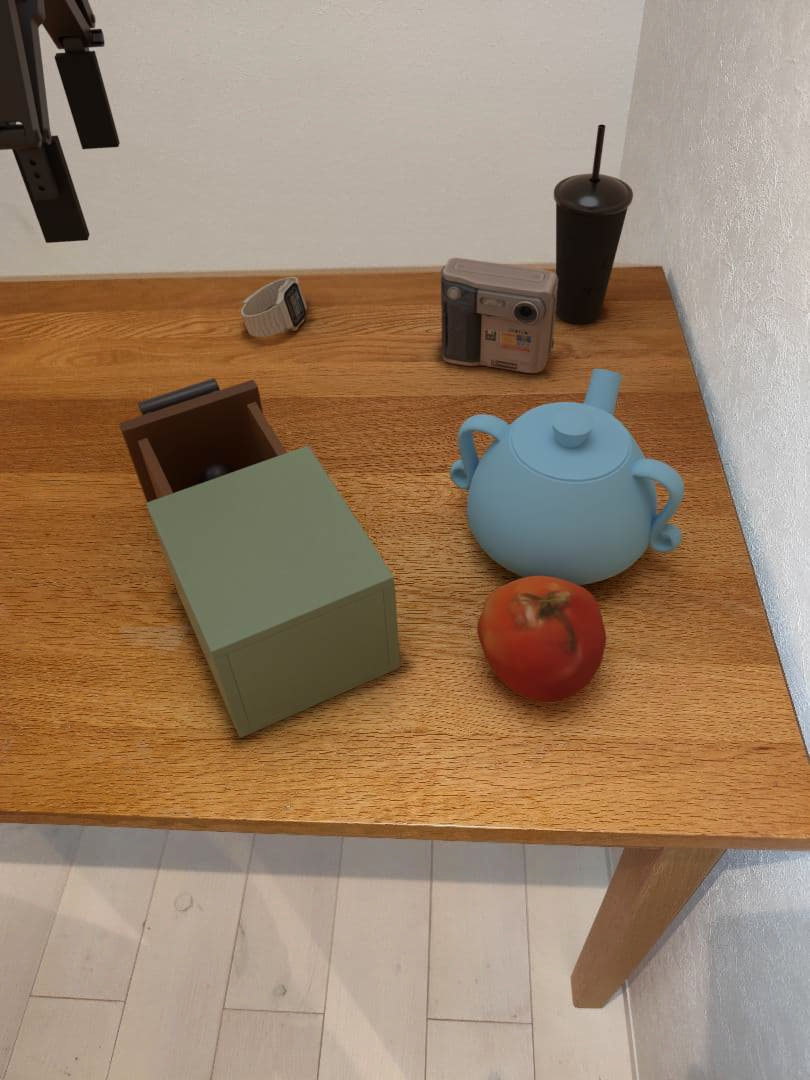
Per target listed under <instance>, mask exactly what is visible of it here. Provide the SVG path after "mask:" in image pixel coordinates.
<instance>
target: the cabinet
mask: <svg viewBox="0 0 810 1080" xmlns="http://www.w3.org/2000/svg"><path fill="white" fill-rule="evenodd" d="M145 505H146V508H147V511H148V514H149V516H150V519H151V522H152V525H153V527H154V530H155V533H156V536H157V539H158V543H159V545H160V548H161V550H162V553H163V555H164V558H165V561H166V564H167V567H168V570H169V572H170V576H171V578H172V580H173V583H174V586H175V588H176V592H177V595H178V597H179V600H180V602H181V604H182V606H183V609H184V611H185V613H186V616H187V618H188V620H189V623H190V625H191V627H192V629H193V632H194V634H195V636H196V639H197V641H198V644H199V646H200V648H201V650H202V653H203V655H204V657H205V660H206V663H207V665H208V666H209V670H210V671H211V674H212V676H213V679H214V682H215V683H216V686H217V688H218V690H219V693H220V696H221V697H222V700H223V702H224V704H225V707H226V709H227V711H228V714H229V716H230V719H231V720H232V723H233V725H234V727H235V730H236V732H237V734H238V737H239V738H241V739H242V738H244V737H246V736H249V735H251V734H253V733H255V732H258V731H260V730H262V729H265V728H266V727H269V726H272V725H274V724H275V723H278V722H280V721H283V720H284V719H287V718H289V717H291V716H294V715H296V714H298V713H301V712H303V711H305V710H307V709H309V708H311V707H315V706H316V705H319V704H321V703H324V702H325V701H328V700H330V699H332V698H334V697H337V696H339V695H341V694H344V693H345V692H348V691H350V690H352V689H354V688H357V687H359V686H361V685H364V684H366V683H368V682H370V681H373V680H375V679H377V678H379V677H383V676H384V675H386V674H389V673H392V672H393V671H395V670H397V669H400V668H401V662H400V661H401V657H400V641H399V627H398V626H399V625H398V611H397V610H398V609H397V597H396V583H395V575H394V574H393V573H392V571H391V570H390V568H389V566H388V565H387V564H386V562H385V560H384V559H383V557H382V556H381V554H380V552H379V551H378V550H377V548H376V546H375V545H374V543H373V542H372V541H371V539H370V538H369V536H368V534H367V533H366V531H365V529H364V528H363V527H362V525H361V524H360V522H359V520H358V519H357V517H356V516H355V514H354V512H353V511H352V510H351V508H350V507H349V505H348V503H347V502H346V501H345V499H344V497H343V496H342V495H341V493H340V492H339V490H338V488H337V486H336V485H335V483H334V482H333V481H332V479H331V478H330V476H329V474H328V473H327V471H326V470H325V469H324V467H323V465H322V464H321V462H320V461H319V459H318V458H317V456H316V455H315V453H314V451H313V450H312V449H311V447H310V446H309V445H306V446H303V447H300V448H297V449H295V450H292V451H291V450H290V451H289V452H288V451H287V453H286V454H283V455H280V456H277V457H274V458H271V459H269V460H266V461H263V462H260V463H257V464H254V465H252V466H249V467H246V468H243V469H240V470H238V471H235V472H232V473H229V474H226V475H223V476H221V477H218V478H215V479H212V480H209V481H206V482H204V483H201V484H198V485H195V486H192V487H190V488H187V489H184V490H181V491H178V492H175V493H173V494H170V495H167V496H164V497H161V498H159V499H156V500H153V501H150V502H147V501H146V503H145Z"/></svg>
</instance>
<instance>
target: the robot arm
mask: <svg viewBox="0 0 810 1080" xmlns="http://www.w3.org/2000/svg"><path fill="white" fill-rule="evenodd" d="M96 22H97V20H96V16H95V14H94V12H93V9H92V7H91V4H90V2H89V0H0V151H8V150H12V153H13V156H14V158H15V161H16V164H17V167H18V170H19V173H20V175H21V178H22V181H23V183H24V186H25V190H26V192H27V194H28V197H29V200H30V203H31V206H32V208H33V211H34V214H35V217H36V219H37V222H38V224H39V227H40V230H41V233H42V235H43V239H44V241H45V243H46V244H53V243H67V242H69V243H70V242H82V241H83V242H84V241H89V238H90V235H91V234H90V231H89V228H88V225H87V222H86V219H85V216H84V212H83V209H82V206H81V203H80V201H79V197H78V193H77V190H76V188H75V185H74V182H73V179H72V175H71V172H70V169H69V166H68V163H67V160H66V157H65V154H64V150H63V147H62V144H61V140H60V137H59V135H52V131H51V125H50V116H49V108H48V99H47V92H46V91H47V90H46V82H45V74H44V66H43V58H42V48H41V40H40V33H39V32H40V31H39V29H40V26H41V25H42V27H43V28H44V30H45V32H46V33H47V34H48V36H49V37H50V39H51V40H52V42H53V43H54V45H55V47H56V48H57V49H58V50H63V51H64V52H56V53H55V55H54V62H55V64H56V68H57V70H58V74H59V78H60V80H61V85H62V87H63V90H64V94H65V97H66V100H67V103H68V106H69V110H70V114H71V116H72V119H73V123H74V127H75V129H76V130H75V131H76V133H77V137H78V139H79V143H80V145H81V149H82V150H91V149H93V150H94V149H109V148H111V149H112V148H119V147H120V143H121V142H120V139H119V134H118V130H117V127H116V124H115V120H114V116H113V113H112V109H111V105H110V102H109V97H108V93H107V91H106V87H105V83H104V79H103V76H102V73H101V68H100V65H99V61H98V57H97V54H96V50H90V48H104V47H105V45H106V44H105V36H104V32H103V30H102V28H96Z"/></svg>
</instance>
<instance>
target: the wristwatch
mask: <svg viewBox="0 0 810 1080" xmlns="http://www.w3.org/2000/svg"><path fill="white" fill-rule="evenodd" d="M242 305H243V306H242V307H241V308H240V309H241V310H240V314H241V318H242V320H243V322H244V324H245V327H246V330H247V333H248V334H249V335H250V336H252V337H257V338H263V337H264V338H265V337H270V336H274V335H277V334H279V333H281V332H283V331H285V330H289V329H290V330H291V331H293V332H294V331H298V329H299V328H300V326H301V325H302V324H303V323H304V321H305V318H306V315H307V308H308V305H307V302H306V299H305V296H304V293H303V290H302V287H301V284H300V281H299V278H298V277H296V276H289V277H288V276H287V277H283V278H280V279H278V280H274V281H272V282H269V283H268V284H266V285H264V286H262V287H261V288H259V289H257V290H256V291H255V292H254V293H252V294H251V295H249V296H247V298H245V299H244V300H243V301H242Z"/></svg>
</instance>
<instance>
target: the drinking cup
mask: <svg viewBox="0 0 810 1080" xmlns="http://www.w3.org/2000/svg"><path fill="white" fill-rule="evenodd" d="M606 127H607V126H606V125H605V124H598V125H597V132H596V139H595V148H594V154H593V162H592V163H593V164H592V172H590V173H582V174H581V173H580V174H576V175H575V174H574V175H571V176H568V177H566V178H564V179H561V180H560V181H558V183H557V184H556V185H555V187H554V188H553V200H554V202H555V274H556V275H557V277H558V287H557V300H556V311H555V314H556V315H557V316H558V318H559V319H561V320H562V321H564V322H565V323H568V324H573V325H586V324H591V323H593V322H595V321H597V320H598V319H599V318H600V316H601V313H602V309H603V305H604V302H605V299H606V294H607V290H608V286H609V283H610V279H611V276H612V275H611V274H612V270H613V266H614V262H615V258H616V256H617V251H618V246H619V243H620V239H621V235H622V231H623V227H624V224H625V220H626V216H627V212H628V208H629V207H630V205H631V204H632V202H633V199H634V192H633V189H632V188H631V186H630V185H629V184H628V183H627V182H625V181H623V180H621V179H620V178H617V177H614V176H611V175H606V174H603V173H600V171H601V165H602V157H603V156H602V155H603V149H604V141H605V134H606V133H605V132H606Z"/></svg>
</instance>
